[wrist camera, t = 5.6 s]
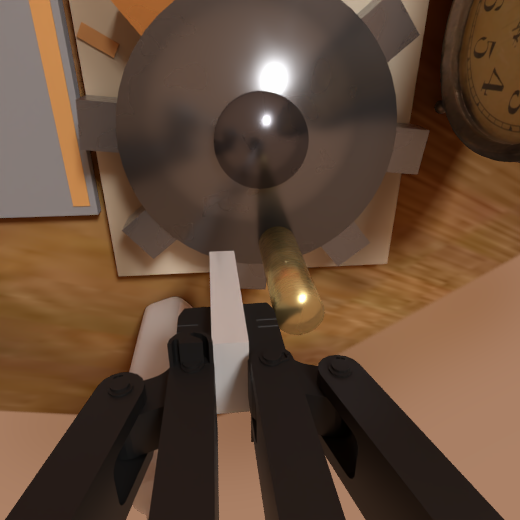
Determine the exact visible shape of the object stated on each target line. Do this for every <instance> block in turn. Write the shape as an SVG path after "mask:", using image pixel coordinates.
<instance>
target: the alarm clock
mask: <svg viewBox="0 0 520 520" xmlns="http://www.w3.org/2000/svg"><path fill="white" fill-rule="evenodd" d="M440 73H441V79H440V81H441V94H442V100H441V101H438V102H437V103H436V104H435V107H434V108H435V111H436V112H437V113H440V114H443V113H445V112H446V116H447V118H448V120H449V123H450V125H451V127H452V129H453V131H454V132H455V134H456V135H457V137H458V138H459V139H460V140H461V141H462V142H463V143H464V144H465V145H466V146H467V147H468V148H469V149H471V150H472V151H474V152H475V153H477V154H479V155H481V156H484V157H487V158H490V159H493V160H497V161H503V162H519V163H520V0H453V2H452V6H451V9H450V13H449V16H448V20H447V24H446V29H445V34H444V39H443V45H442V55H441V65H440Z"/></svg>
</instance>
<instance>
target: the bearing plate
mask: <svg viewBox="0 0 520 520" xmlns="http://www.w3.org/2000/svg"><path fill="white" fill-rule="evenodd" d="M341 1H343V2H344V3H345V4H346V5H348V6H349V7H350V8H351V9H352V10H353V11H354V12H355V13H356V14H358V13H359V12H360V11H361V10H362V9H363V8H364V7H366V6H367V5H368V4H369V3H370V2H371V1H372V0H341ZM401 1H402V3H403V5H404V7H405V8H406V10H407V12H408V14H409V16H410V18H411V20H412V21H413V23H414V25H415V27H416V29H417V31H418V32H419V34H420V35H419V36H418V37H417V38H416V39H415V40H414V41H412V42H411V43H410V44H409V45H408V46H406V47H405V48H404V49H403V50H402V51H400V52H399V53H398V54H397V55H396V56H395V57H393V58H392V59H391V60H390V61H389V62H387V63H388V66H389V69H390V72H391V75H392V79H393V84H394V89H395V94H396V104H397V123H407V124H409V123H410V117H411V111H412V105H413V98H414V92H415V86H416V80H417V73H418V67H419V61H420V55H421V48H422V42H423V36H424V30H425V23H426V17H427V11H428V5H429V0H401ZM69 3H70V9H71V14H72V20H73V25H74V31H75V37H76V42H77V48H78V53H79V59H80V64H81V70H82V76H83V81H84V87H85V92H86V95H94V96H105V97H116V98H118V91H119V86H120V83H121V79H122V76H123V72H124V69H125V66H126V64H127V62H128V60H129V57H130V55H131V53H132V51H133V49H134V47H135V45H136V44H137V42H138V41H139V39H140V37H141V35H140V34H139V33H138V32H137V31H136V29H135V28H134V27H133V26H132V25H131V24H130V22H129V21H128V20H127V19H126V18H125V17H124V15H123V14H122V13H121V12H120V11H119V10H118V8H117V7H116V6H115V5H114V4H113V3H112V1H111V0H69ZM96 154H97V160H98V165H99V171H100V176H101V182H102V187H103V193H104V199H105V204H106V210H107V215H108V221H109V227H110V232H111V238H112V243H113V249H114V255H115V260H116V266H117V271H118V276H137V275H158V274H179V273H201V272H210V256H208V255H205V254H202V253H200V252H198V251H196V250H194V249H192V248H190V247H188V246H186V245H185V244H183V243H182V242H180V241H178V240H176V241H175V242H173V243H172V244H171V245H170V246H169V247H168V248H166V249H165V250H164V251H163V252H162V253H160V254H159V255H158V256H157V257H156V258H154V259H153V258H152V257H151V256H150V255H148V254H147V253H146V252H145V251H144V250H143V249H142V248H141V247H139V246H138V245H137V244H136V243H135V242H134V241H133V240H132V239H130V238H129V237H128V236H127V235H126V234H125V233H124V232H123V231H122V229H123V227H124V225H125V223H126V221H127V219H128V217H130V216H131V215H132V214H133V213H134V212H135V211H136V210H137V209H139V208H140V207H141V206H142V204H141V203H140V201H139V200H138V198H137V196H136V194H135V193H134V191H133V189H132V187H131V185H130V183H129V181H128V178H127V176H126V173H125V171H124V168H123V165H122V161H121V158H120V154H119V153H115V152H101V151H96ZM400 179H401V173H391V172H386V173H385V176H384V178H383V180H382V183H381V185H380V186H379V188H378V190H377V192H376V193H375V195H374V197H373V198H372V200H371V201H370V203H369V204H368V205H367V207H366V208H365V209H364V211H363V212H362V213H361V214H360V215H359V216H358V217H357V219H356V220H355V221H354V222H355V224H356V225H357V226H358V228H359V229H360V230H361V231H362V233H363V234H364V235H365V237H366V238H367V239H368V240H369V242H370V243H369V244H368V245H367V246H365V247H364V248H363V249H361V250H360V251H359V252H357V253H356V254H354V255H353V256H352V257H350V258H349V259H348V260H346V261H345V262H344V263H342V264H341V265H339V266H350V265H371V264H387V261H388V254H389V248H390V242H391V236H392V229H393V223H394V217H395V211H396V204H397V198H398V192H399V186H400ZM302 256H303V258H304V261H305V263H306V265H307V267H328V266H337V265H336V264H335V263H334V261H333V260H332V259H331V258H330V257H329V256H328V254H327V253H326V252H325V251H324V250H323V249H322V247H319V248H317V249H315V250H313V251H311V252H309V253H306V254H303V255H302Z"/></svg>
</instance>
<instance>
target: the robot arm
mask: <svg viewBox="0 0 520 520" xmlns="http://www.w3.org/2000/svg"><path fill="white" fill-rule="evenodd" d="M209 256H210V296H211V307H201V308H185V309H184V310H183V311H182V312H181V313H180V315H179V316H178V322H177V332H176V333H177V334H175V335H174V336H173V337H172V338H170V339H169V341H168V343H167V348H168V357H169V366H170V368H169V369H167V370H166V371H165V372H164V373H162V374H160V375H158V376H156V377H153V378H150V379H147V380H144V381H143V378H142V377H141V376H139V375H138V374H135V373H131V372H122V373H118V374H114V375H112V376H110V377H108V378H106V379H104V380H103V381H102V382H101V383H100V384H99V385H98V387H97V388H96V389H95V391H94V392H93V394H92V395H91V397H90V398H89V400H88V401H87V402H86V404H85V405H84V407H83V408H82V410H81V411H80V413H79V414H78V415H77V417H76V418H75V420H74V421H73V423H72V424H71V426H70V427H69V428H68V430H67V432H66V433H65V434H64V436H63V437H62V438H61V440H60V441H59V443H58V444H57V446H56V447H55V449H54V450H53V451H52V453H51V454H50V456H49V457H48V459H47V460H46V461H45V463H44V464H43V466H42V467H41V469H40V470H39V472H38V473H37V474H36V476H35V478H34V479H33V480H32V482H31V483H30V484H29V486H28V487H27V489H26V490H25V492H24V493H23V495H22V496H21V497H20V499H19V500H18V502H17V503H16V505H15V506H14V508H13V509H12V510H11V512H10V513H9V515H8V516H7V518H6V519H5V520H126V518H127V516H128V513H129V511H130V508H131V506H132V504H133V502H134V499H135V497H136V495H137V492H138V490H139V488H140V486H141V483H142V481H143V479H144V476H145V474H146V472H147V469H148V467H149V465H150V462H151V460H152V458H153V454H154V450H157V449H158V454H157V461H156V468H155V476H154V483H153V490H152V497H151V504H150V511H149V519H148V520H219V497H218V428H217V414H222V413H235V412H247V411H250V412H251V442H254V445H255V453H256V460H257V466H258V473H259V479H260V486H261V492H262V500H263V507H264V513H265V520H346V519H345V516H344V513H343V510H342V507H341V504H340V501H339V498H338V495H337V492H336V488H335V486H334V483H333V479H332V476H331V473H330V470H329V467H328V464H327V461H326V458H325V456H326V457H327V459H328V461H329V462H330V464H331V465H332V467H333V469H334V470H335V472H336V473H337V475H338V477H339V478H340V480H341V481H342V483H343V484H344V486H345V488H346V489H347V491H348V492H349V494H350V496H351V497H352V499H353V500H354V502H355V504H356V505H357V507H358V508H359V510H360V511H361V513H362V515H363V516H364V518H365V519H366V520H504V519H503V518H502V517H501V516H500V515H499V513H498V512H497V511H496V510H495V509H494V508H493V507H492V506H491V505H490V504H489V503H488V502H487V501H486V500H485V498H484V497H482V495H481V494H480V493H479V492H478V491H477V490H476V489H475V488H474V487H473V486H472V484H471V483H470V482H469V481H468V480H467V479H466V478H465V477H464V476H463V475H462V474H461V473H460V472H459V471H458V470H457V468H456V467H455V466H454V465H453V464H452V463H451V462H450V461H449V460H448V459H447V458H446V457H445V456H444V454H443V453H442V452H441V451H440V450H439V449H438V448H437V447H436V446H435V445H434V444H433V443H432V442H431V440H430V439H429V438H428V437H427V436H426V435H425V434H424V433H423V432H422V431H421V430H420V429H419V428H418V427H417V425H416V424H415V423H414V422H413V421H412V420H411V419H410V418H409V417H408V416H407V415H406V414H405V413H404V411H403V410H401V408H399V406H398V405H397V404H396V403H395V402H394V401H393V400H392V399H391V398H390V396H389V395H388V394H387V393H386V392H385V391H384V390H383V389H382V388H381V387H380V386H379V385H378V384H377V382H375V380H374V379H373V378H372V377H371V376H370V375H369V374H368V373H367V372H366V371H365V370H364V369H363V367H361V366H360V364H358V363H357V362H356V361H355V360H353V359H351V358H349V357H346V356H340V355H333V356H328V357H326V358H323V359H322V360H321V361H320V362H319V365H318V366H314V365H308V364H303V363H300V362H298V361H295V360H294V359H293V356H292V355H291V353H290V352H289V351H287V350H286V349H285V346H284V343H283V339H282V336H281V332H280V329H279V326H278V322H277V319H276V315H275V311H274V309H273V308H272V307H271V306H270V305H269V304H267V303H253V304H243V303H242V297H241V291H240V285H239V278H238V272H237V266H236V260H235V254H234V251H216V252H209Z"/></svg>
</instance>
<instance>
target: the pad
mask: <svg viewBox="0 0 520 520" xmlns="http://www.w3.org/2000/svg"><path fill="white" fill-rule="evenodd" d="M78 98H80V94H79V89H78V83H77V78H76V72H75V67H74V62H73V56H72V51H71V45H70V40H69V35H68V29H67V24H66V18H65V13H64V8H63V2H62V0H0V218H16V217H45V216H75V215H98V214H99V213H100V211H101V207H100V202H99V197H98V191H97V186H96V180H95V175H94V170H93V164H92V159H91V153H90V151H88V150H80V140H79V129H78V119H77V109H76V99H78Z"/></svg>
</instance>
